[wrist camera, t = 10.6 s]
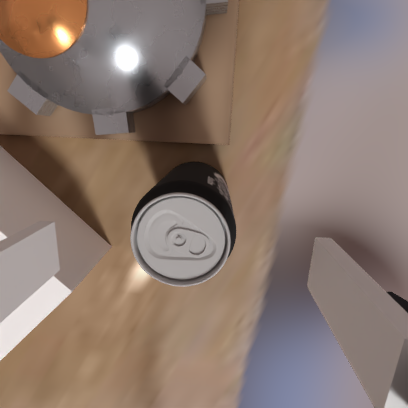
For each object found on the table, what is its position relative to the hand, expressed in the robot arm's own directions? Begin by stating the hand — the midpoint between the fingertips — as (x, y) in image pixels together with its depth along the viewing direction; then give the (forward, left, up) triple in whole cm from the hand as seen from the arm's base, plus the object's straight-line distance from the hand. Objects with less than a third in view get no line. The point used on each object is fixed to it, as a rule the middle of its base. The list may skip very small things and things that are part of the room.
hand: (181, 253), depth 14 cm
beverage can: (0, 0, -14) cm, 14 cm away
